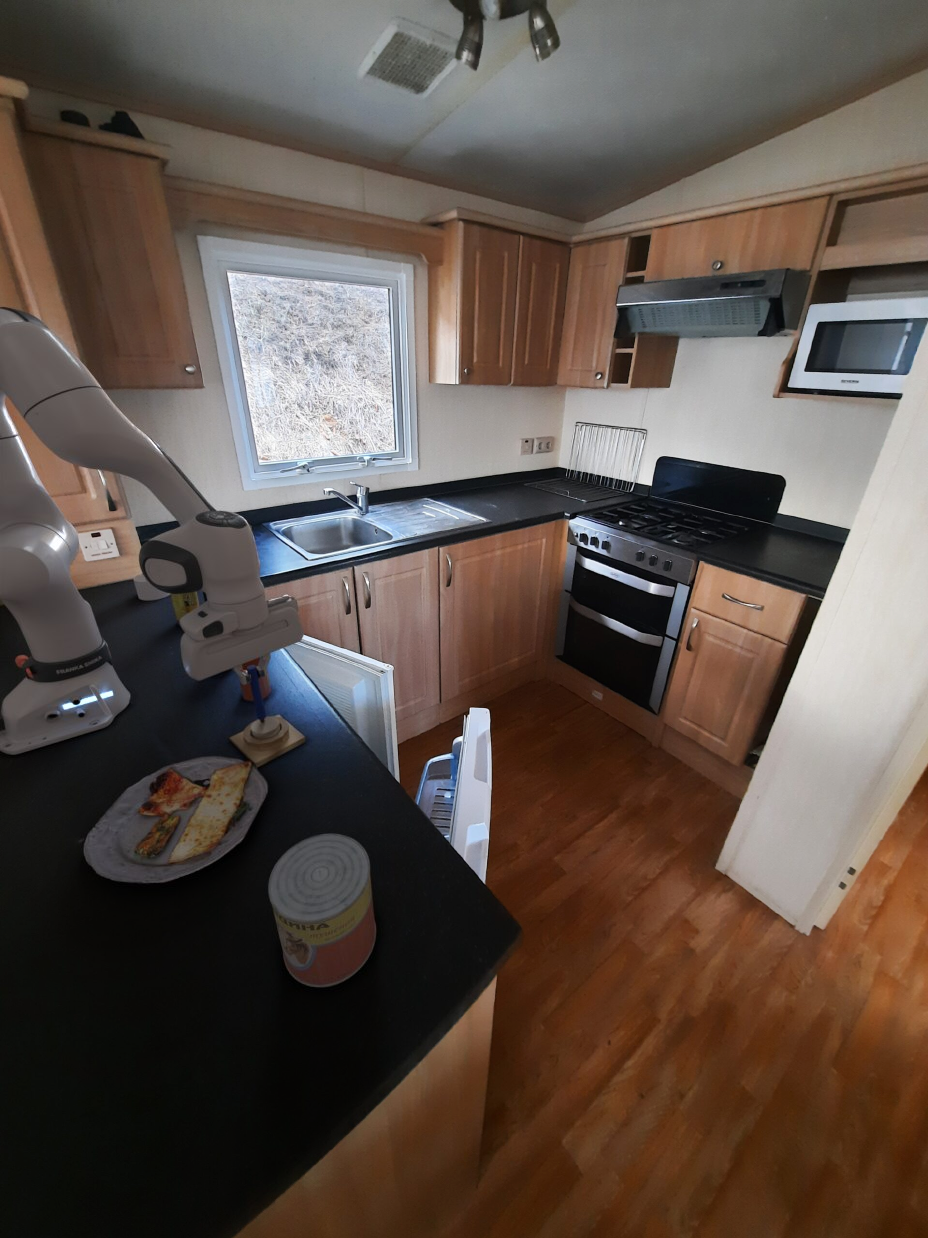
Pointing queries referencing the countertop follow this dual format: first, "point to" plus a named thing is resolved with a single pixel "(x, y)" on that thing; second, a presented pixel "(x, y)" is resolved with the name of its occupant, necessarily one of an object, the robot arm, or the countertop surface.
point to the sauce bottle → (184, 604)
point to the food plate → (176, 820)
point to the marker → (257, 693)
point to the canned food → (324, 909)
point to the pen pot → (263, 681)
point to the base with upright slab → (147, 589)
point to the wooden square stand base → (267, 743)
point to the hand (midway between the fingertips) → (253, 679)
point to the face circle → (265, 728)
